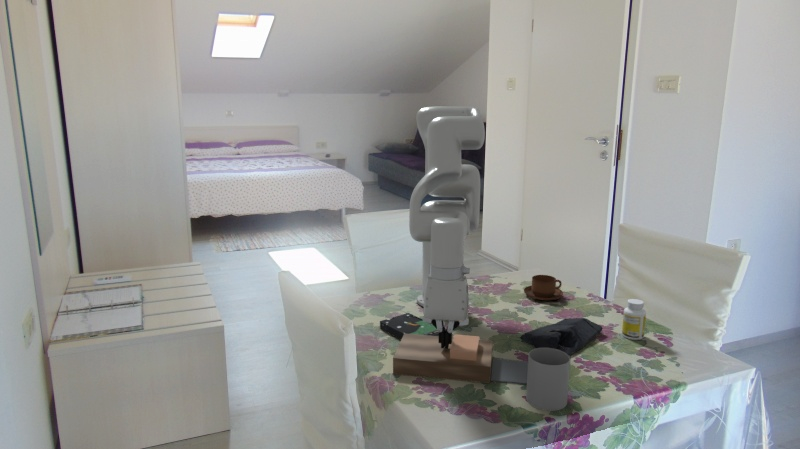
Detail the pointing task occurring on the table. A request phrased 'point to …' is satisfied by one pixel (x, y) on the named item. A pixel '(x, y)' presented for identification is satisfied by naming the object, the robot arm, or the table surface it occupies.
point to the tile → (464, 347)
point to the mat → (509, 371)
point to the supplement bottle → (634, 320)
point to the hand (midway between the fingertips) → (445, 346)
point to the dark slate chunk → (563, 335)
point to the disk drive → (407, 326)
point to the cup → (547, 379)
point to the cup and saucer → (544, 288)
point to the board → (440, 360)
